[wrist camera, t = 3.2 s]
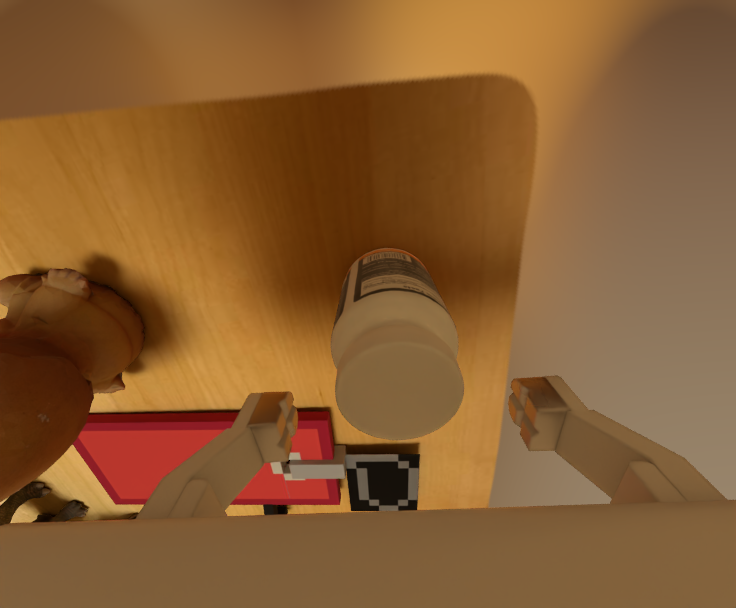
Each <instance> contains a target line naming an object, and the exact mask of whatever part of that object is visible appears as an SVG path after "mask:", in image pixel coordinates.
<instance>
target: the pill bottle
mask: <svg viewBox="0 0 736 608" xmlns="http://www.w3.org/2000/svg"><path fill="white" fill-rule="evenodd" d="M331 352H332V358H333V361H334V364H335V366H336V368H337V377H336V386H335V395H336V401H337V405H338V407H339V410H340V411H341V413H342V415H343V416H344V418H345V419H346V420H347V421H348V422H349V423H350V424H351V425H352V426H354V427H355V428H357V429H358V430H360V431H362V432H364V433H366V434H368V435H371V436H374V437H377V438H383V439H389V440H406V439H413V438H417V437H421V436H424V435H427V434H429V433H432V432H434V431H435V430H437V429H439V428H441V427H442V426H444V425H445V424H446V423H447V422H448V421H449V420H450V419H451V418H452V417H453V416H454V415H455V414H456V412H457V411H458V409H459V407H460V405H461V402H462V399H463V395H464V382H463V377H462V374H461V371H460V368H459V366H458V363H457V360H456V358H457V354H458V335H457V331H456V326H455V324H454V322H453V320H452V318H451V316H450V314H449V312H448V310H447V308H446V306H445V304H444V302H443V300H442V298H441V296H440V294H439V292H438V290H437V288H436V286H435V284H434V282H433V280H432V278H431V276H430V274H429V272H428V270H427V269H426V267H425V266H424V265H423V263H422V262H421V261H420V260H419V259H418V258H416V257H415V256H414V255H412V254H410V253H408V252H406V251H404V250H400V249H395V248H382V249H376V250H373V251H371V252H368V253H366V254H364V255H363V256H361V257H360V258H358V259H357V260H356V261H355V262H354V263H353V265H352V266H351V267H350V269H349V270H348V272H347V274H346V277H345V280H344V282H343V286H342V292H341V296H340V301H339V305H338V310H337V314H336V318H335V322H334V327H333V331H332V337H331Z"/></svg>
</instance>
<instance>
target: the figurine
mask: <svg viewBox="0 0 736 608" xmlns="http://www.w3.org/2000/svg"><path fill="white" fill-rule="evenodd" d="M0 303H1V304H3V305H4V306H6V307H8V313H7V316H6V318H3V319H1V320H0V502H1V501H3V500H4V499H6V498H7V497H9V496H10V495H12V494H14V493H15V492H17V491H18V490H20V489H21V488H23V487H24V486H26V485H27V484H29V483H30V482H31V481H33V480H34V479H36V478H37V477H38V476H40V475H41V474H42V473H43V472H45V471H46V470H47V469H48V468H49V467H50V466H52V465H53V464H54V463H55V462H56V461H57V460H58V459H59V458H60V457H61V456H62V455H63V454H64V453H65V452H66V451H67V450H68V448H69V447H70V446H71V445H72V444H73V443H74V441H75V440H76V439H77V438H78V436H79V434H80V432H81V431H82V429H83V427H84V426H85V424H86V421H87V417H88V414H89V411H90V407H91V403H92V401H93V399H94V395H93V394H95V393H114V392H116V391H118V390H124V388H125V385H124V383H123V381H122V371H123V370H124V369H125V368H126V367H127V366H129V365H130V364H131V363H132V362H133V361H134V360H135V359H136V357H137V356H138V354H139V353H140V351H141V350H142V348H143V344H144V339H145V337H144V332H143V331H142V330H143V329H145V327H144V325H143V324H142V320H141V317H140V316H139V315H138V314H137V313H136V312H134V310H133V309H132V305H131V304H130V302H128V301H126V300H125V299H122V298H121V297H120V296H119V295H118V294H117V293H116V292H115V291H114V290H113V289H112V288H111V287H109V286H107V285H99V284H97V283H95V282H93V281H89V280H87V279H86V278H85V277H83V276H82V275H81V274H80V273H79V272H77V271H75V270H72V269H67V268H65V269H50V270H49V271H48V273H45V274H44V275H43V274H39V273H38V274H36V275H30V274H18V275H12V276H8V277H6V278H4V279H2V280H0Z"/></svg>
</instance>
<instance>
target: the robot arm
mask: <svg viewBox="0 0 736 608" xmlns="http://www.w3.org/2000/svg"><path fill="white" fill-rule="evenodd" d="M511 388H512V390H513V393H512V394H511V395H510V396H509V402H508V405H509V412H510V415H511V418H512V420H513V422H514V423H515V424H516V425H518V426H519V427H520V428H521V431H520V435H521V437H522V439H523V440H524V442H525V444H526V446H527V448H528V450H529V451H555V452H556V453H557V454H559V455H560V456H561V457H562V458H563V459H565V460H566V461H567V462H568V463H569V464H571V465H572V466H573V467H574V468H575V469H577V470H578V471H580V472H581V473H582V474H583V475H584V476H585V477H586V478H588V479H589V480H590V481H591V482H593V483H594V484H595V485H596V486H597V487H599V488H600V489H601V490H602V491H604V492H605V493H606V494H607V495H608V496H610V497H611V498H612V500H611V502H610V504H593V505H592V504H591V505H560V506H533V507H532V506H530V507H503V508H501V507H500V508H471V509H442V510H410V511H379V512H347V513H316V514H286V515H255V516H227V514H226V512H225V510H226V508H227V507H228V506H229V505H230V504H231V503H232V501H233V500H234V499H235V498H236V497H237V496H238V495H239V493H240V492H241V491H242V490H243V489H244V488H245V486H246V485H247V484H248V483H249V482H250V481H251V479H252V478H253V477H254V476H255V475H256V474H257V472H258V471H259V470H260V469H261V468H262V467H263V466H264V463H272V462H286V461H288V459H289V455H290V452H291V448H292V445H293V444H292V441H291V438H292V437H293V436H294V435H295V434H296V430H297V425H298V413H297V409H296V407H294V406H293V405H292V403H293V400H294V398H293V395H292V393H291V392H264V393H251V394H250V395H249V396H248V397H247V399H246V401H245V403H244V405H243V406H242V408H241V410H240V412H239V414H238V416H237V418H236V420H235V422H234V423H233V425H232V427H231V428H227V429H226V430H224V431H223V432H222V433H220V434H219V435H218V436H217V437H215V438H214V439H213V440H211V441H210V442H209V443H208V444H206V445H205V446H204V447H202V448H201V449H200V450H198V451H197V452H196V453H195V454H193V455H192V456H191V457H189V458H188V459H187V460H185V461H184V462H183V463H182V464H180V465H179V466H178V467H176V468H175V469H174V470H173V471H171V472H170V473H169V474H167V475H166V476H165V477H163V478H162V479H161V481H160V482H159V484H158V485H157V487H156V488H155V490H154V491H153V493H152V494H151V496H150V497H149V499H148V500H147V502H146V503H145V505H144V506H143V508H142V509H141V511H140V512H139V514H138V515H137V517H136V519H131V520H101V521H71V522H35V523H11V524H5V525H1V526H0V608H736V500H727V499H726V498H725V497H724V496H723V495H722V494H721V493H720V492H719V491H718V490H717V489H716V488H715V487H714V486H713V485H712V484H711V483H710V482H709V481H708V480H707V479H705V478H704V476H702V475H701V474H700V473H699V472H698V471H697V470H696V469H695V468H694V467H693V466H692V465H691V464H690V463H689V462H688V461H687V460H686V459H685V458H683V457H682V456H680V455H678V454H676V453H674V452H672V451H670V450H668V449H667V448H665V447H663V446H661V445H659V444H657V443H655V442H653V441H651V440H649V439H647V438H646V437H644V436H642V435H640V434H638V433H636V432H634V431H632V430H630V429H628V428H627V427H625V426H623V425H621V424H619V423H617V422H615V421H613V420H612V419H610V418H608V417H606V416H604V415H602V414H600V413H598V412H596V411H595V410H588V409H587V407H586V406H585V405H584V404H583V403H582V402H581V400H580V399H579V398H578V397H577V396H576V395H575V393H574V392H573V391H572V390H571V389H570V388H569V386H568V385H567V384H566V383H565V382H564V380H563V379H562V378H561V377H559V376H545V377H533V378H516V379H513V381H512V383H511Z"/></svg>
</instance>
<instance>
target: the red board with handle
mask: <svg viewBox="0 0 736 608" xmlns="http://www.w3.org/2000/svg"><path fill="white" fill-rule="evenodd" d="M297 413H298V425H297V430H296V434H295V435H294V436H293V437H292V438H291V441H292V444H293V445H292V448H291V452H290V455H289V459H288V460H290V463H289V464H286V462H272V463H264V466H263V467H262V468H261V469H260V470H259V471H258V472H257V474H256V475H255V476H254V477H253V478H252V479H251V481H250V482H249V483H248V484H247V485H246V486H245V488H244V489H243V490H242V491H241V492H240V493H239V495H238V496H237V497H236V498H235V499H234V500H233V501H232V503H231V504H230V505H263V507H264V515H286V514H287V513H288V510H287V507H286V506H277V505H340V499H341V492H340V485H339V479H345V475H346V471H347V480H348V488H349V496H350V504H351V511H410V510H417V501H418V480H419V459H420V454H374V455H347V454H346V445H334V442H333V435H332V428H331V421H330V414H329V411H321V412H297ZM238 414H239V413H163V414H88V417H87V421H86V424H85V426H84V427H83V429H82V431H81V432H80V434H79V436H78V438H77V439H76V440H75V441H74V443H73V445H74V447H75V448H76V450H77V451H78V452H79V454H80V455H81V457H82V458H83V459H84V461H85V462H86V464H87V465H88V466H89V468H90V469H91V471H92V472H93V473H94V475H95V476H96V478H97V479H98V480H99V482H100V483H101V485H102V486H103V487H104V489H105V490H106V492H107V493H108V494H109V496H110V497H111V499H112V500H113V501H114V503H115V504H145V503H146V502H147V500H148V499H149V497H150V496H151V494H152V493H153V491H154V490H155V488H156V487H157V485H158V484H159V482H160V481H161V479H162V478H163V477H165V476H166V475H167V474H169V473H170V472H171V471H173V470H174V469H175V468H176V467H178V466H179V465H180V464H182V463H183V462H184V461H185V460H187V459H188V458H189V457H191V456H192V455H193V454H195V453H196V452H197V451H198V450H200V449H201V448H202V447H204V446H205V445H206V444H208V443H209V442H210V441H211V440H213V439H214V438H215V437H217V436H218V435H219V434H220V433H222V432H223V431H224V430H226V429H227V428H231V427H232V425H233V423H234V422H235V420H236V418H237V416H238Z"/></svg>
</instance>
